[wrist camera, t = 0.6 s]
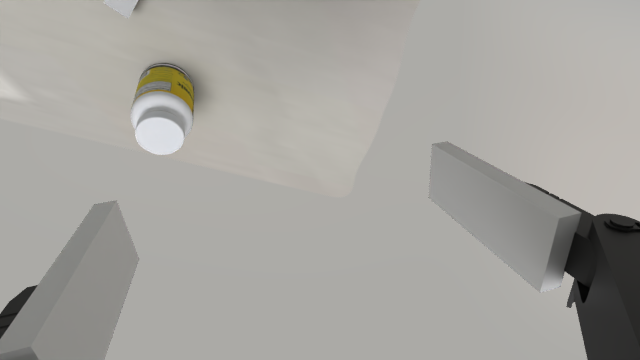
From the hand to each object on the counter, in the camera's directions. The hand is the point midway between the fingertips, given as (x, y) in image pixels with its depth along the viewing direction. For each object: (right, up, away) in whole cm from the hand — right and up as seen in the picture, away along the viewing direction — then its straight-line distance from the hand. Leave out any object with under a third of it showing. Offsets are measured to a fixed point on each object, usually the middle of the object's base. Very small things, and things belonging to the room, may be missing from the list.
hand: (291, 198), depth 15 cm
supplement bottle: (-15, +11, +23) cm, 30 cm away
